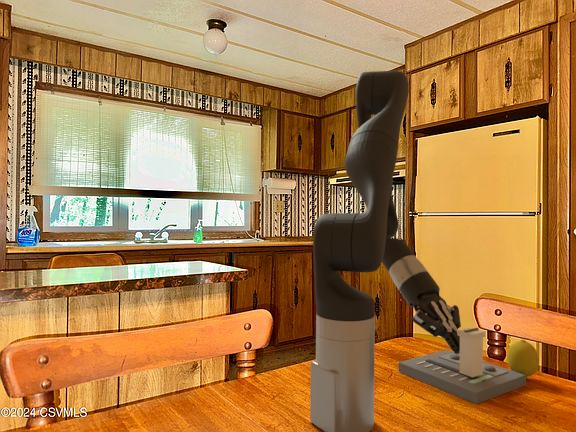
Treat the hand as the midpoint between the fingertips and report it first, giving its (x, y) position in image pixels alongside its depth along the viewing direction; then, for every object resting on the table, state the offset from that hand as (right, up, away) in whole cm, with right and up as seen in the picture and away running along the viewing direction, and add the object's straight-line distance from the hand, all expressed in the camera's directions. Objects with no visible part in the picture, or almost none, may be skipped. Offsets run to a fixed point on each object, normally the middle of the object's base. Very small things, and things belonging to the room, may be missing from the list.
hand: (461, 351), depth 83 cm
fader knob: (+1, -4, -2) cm, 4 cm away
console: (+1, -6, +3) cm, 7 cm away
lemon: (+13, -7, +3) cm, 15 cm away
